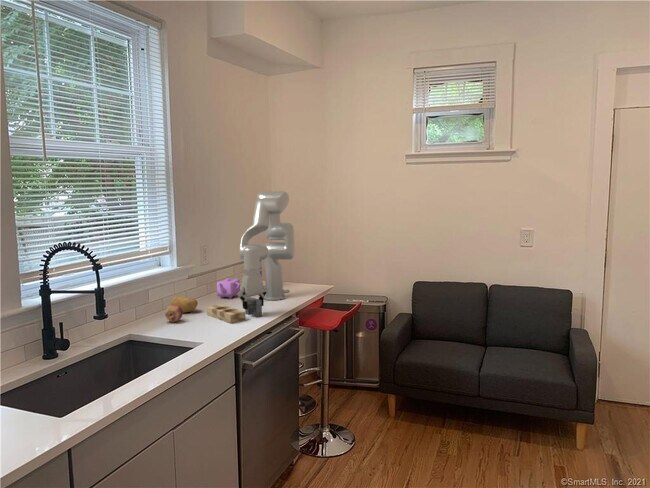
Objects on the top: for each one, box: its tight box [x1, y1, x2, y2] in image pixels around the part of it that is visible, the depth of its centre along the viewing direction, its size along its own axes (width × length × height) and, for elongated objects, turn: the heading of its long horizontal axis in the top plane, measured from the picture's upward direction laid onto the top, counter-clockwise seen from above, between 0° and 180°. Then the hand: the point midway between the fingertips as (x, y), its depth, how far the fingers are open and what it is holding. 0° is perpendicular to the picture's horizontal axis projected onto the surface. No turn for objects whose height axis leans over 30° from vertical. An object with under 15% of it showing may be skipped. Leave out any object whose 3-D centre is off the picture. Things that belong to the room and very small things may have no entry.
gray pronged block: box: [244, 296, 263, 318], centre depth 242 cm, size 10×3×8 cm, turn 42°
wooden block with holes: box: [206, 303, 246, 324], centre depth 238 cm, size 8×22×4 cm, turn 42°
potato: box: [171, 295, 198, 314], centre depth 250 cm, size 10×14×8 cm
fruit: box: [164, 304, 183, 323], centre depth 232 cm, size 8×8×8 cm
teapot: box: [216, 277, 241, 300], centre depth 282 cm, size 15×13×11 cm
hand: (253, 307), depth 242 cm, fingers open, 8 cm apart
